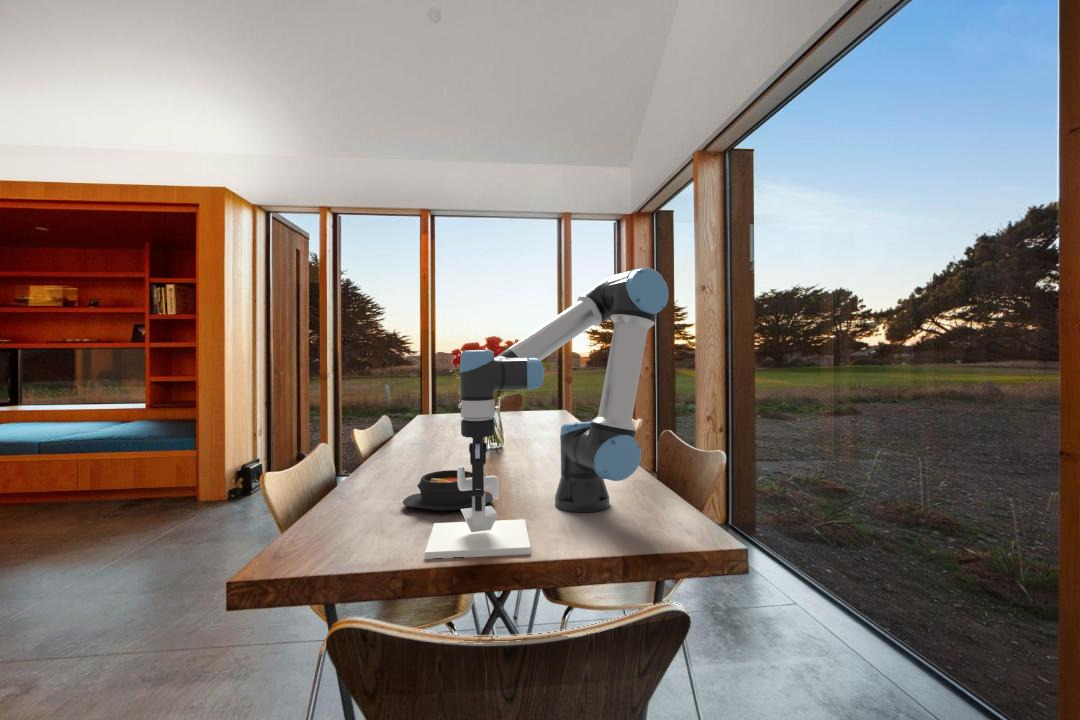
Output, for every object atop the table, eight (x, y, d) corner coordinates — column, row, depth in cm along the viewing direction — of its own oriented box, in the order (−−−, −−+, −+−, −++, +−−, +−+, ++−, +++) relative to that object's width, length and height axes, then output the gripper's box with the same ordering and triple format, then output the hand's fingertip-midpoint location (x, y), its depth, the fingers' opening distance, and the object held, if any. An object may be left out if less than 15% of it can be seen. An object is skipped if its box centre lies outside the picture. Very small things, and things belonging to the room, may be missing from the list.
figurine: (503, 530, 115) (502, 463, 114) (460, 536, 112) (459, 467, 112) (495, 520, 122) (495, 457, 121) (455, 525, 119) (454, 460, 118)
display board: (524, 525, 127) (524, 519, 127) (530, 554, 109) (530, 547, 109) (434, 529, 125) (434, 523, 125) (424, 559, 107) (424, 552, 107)
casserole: (493, 494, 154) (493, 467, 154) (493, 514, 136) (493, 483, 135) (408, 498, 152) (408, 469, 152) (397, 518, 133) (396, 486, 133)
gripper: (463, 413, 126) (464, 505, 127) (458, 425, 105) (459, 535, 106) (494, 412, 127) (495, 503, 127) (494, 424, 106) (496, 533, 107)
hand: (479, 518), depth 117 cm, fingers closed on figurine, 8 cm apart
